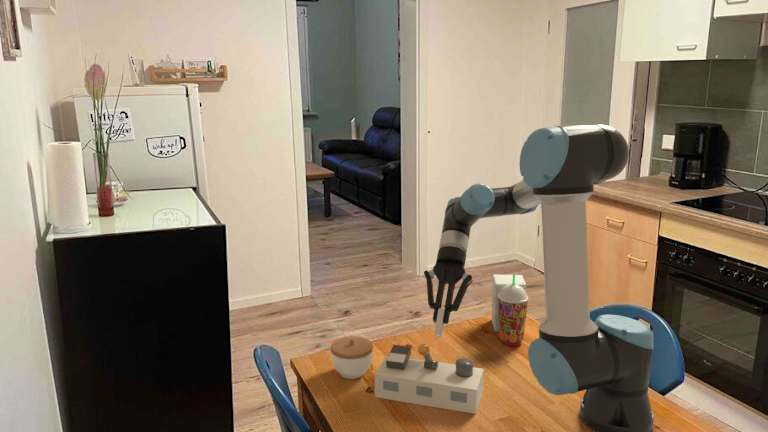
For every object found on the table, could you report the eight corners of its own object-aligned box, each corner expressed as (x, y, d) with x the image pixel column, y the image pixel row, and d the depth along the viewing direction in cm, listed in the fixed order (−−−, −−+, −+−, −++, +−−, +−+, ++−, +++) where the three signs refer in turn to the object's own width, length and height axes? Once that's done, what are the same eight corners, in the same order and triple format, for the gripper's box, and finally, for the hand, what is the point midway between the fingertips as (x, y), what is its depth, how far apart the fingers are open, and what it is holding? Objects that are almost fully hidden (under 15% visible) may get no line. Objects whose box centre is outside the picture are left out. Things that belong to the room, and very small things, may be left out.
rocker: (411, 352, 145) (410, 346, 144) (404, 369, 140) (403, 362, 139) (394, 350, 147) (393, 343, 146) (386, 367, 141) (385, 360, 140)
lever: (438, 361, 142) (430, 342, 131) (436, 371, 140) (428, 354, 130) (426, 359, 142) (417, 341, 132) (424, 370, 141) (415, 352, 131)
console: (482, 391, 142) (483, 368, 140) (475, 414, 132) (476, 390, 131) (387, 376, 149) (387, 354, 148) (374, 397, 140) (374, 374, 138)
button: (474, 370, 140) (474, 359, 139) (471, 378, 136) (471, 367, 135) (457, 367, 141) (457, 357, 140) (454, 376, 137) (454, 365, 136)
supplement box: (520, 320, 182) (523, 274, 178) (524, 332, 173) (527, 284, 170) (491, 319, 183) (492, 273, 179) (493, 331, 174) (495, 283, 170)
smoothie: (489, 341, 168) (492, 274, 163) (507, 332, 173) (510, 268, 168) (514, 351, 162) (517, 282, 157) (531, 341, 167) (535, 275, 162)
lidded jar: (352, 388, 144) (351, 353, 142) (322, 373, 151) (321, 340, 149) (382, 372, 151) (381, 338, 149) (352, 358, 158) (351, 326, 156)
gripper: (478, 259, 159) (465, 343, 147) (430, 255, 163) (415, 337, 151) (475, 246, 153) (462, 333, 141) (426, 242, 156) (409, 326, 145)
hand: (438, 335), depth 146 cm, fingers closed
